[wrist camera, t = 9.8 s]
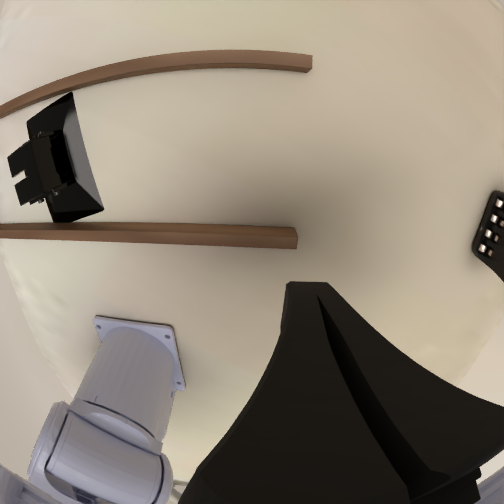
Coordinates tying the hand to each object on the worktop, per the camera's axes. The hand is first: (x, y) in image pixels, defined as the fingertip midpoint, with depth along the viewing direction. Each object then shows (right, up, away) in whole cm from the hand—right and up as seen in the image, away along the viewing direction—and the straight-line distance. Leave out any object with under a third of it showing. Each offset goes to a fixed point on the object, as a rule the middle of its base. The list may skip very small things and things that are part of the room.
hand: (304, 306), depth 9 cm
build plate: (-16, +9, +7) cm, 19 cm away
